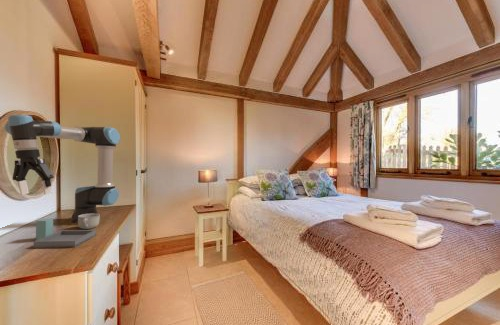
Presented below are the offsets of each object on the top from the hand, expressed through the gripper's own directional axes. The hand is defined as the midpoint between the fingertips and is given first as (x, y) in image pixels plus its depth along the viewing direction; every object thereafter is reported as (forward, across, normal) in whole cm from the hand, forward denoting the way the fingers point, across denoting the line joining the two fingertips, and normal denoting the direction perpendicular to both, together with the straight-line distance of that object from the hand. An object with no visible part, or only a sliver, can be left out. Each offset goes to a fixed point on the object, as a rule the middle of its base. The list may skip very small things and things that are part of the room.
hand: (36, 193), depth 98 cm
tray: (+27, +5, +5) cm, 28 cm away
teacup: (+29, -3, +24) cm, 38 cm away
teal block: (+26, -9, +6) cm, 28 cm away
